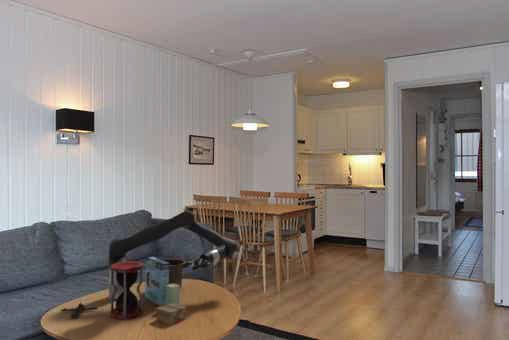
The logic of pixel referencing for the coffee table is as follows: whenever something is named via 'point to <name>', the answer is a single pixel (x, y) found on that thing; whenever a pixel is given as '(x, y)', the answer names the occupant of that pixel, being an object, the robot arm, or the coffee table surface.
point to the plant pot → (175, 271)
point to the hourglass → (126, 290)
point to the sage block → (173, 294)
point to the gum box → (156, 280)
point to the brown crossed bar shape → (78, 310)
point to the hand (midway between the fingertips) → (187, 267)
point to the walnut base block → (171, 313)
